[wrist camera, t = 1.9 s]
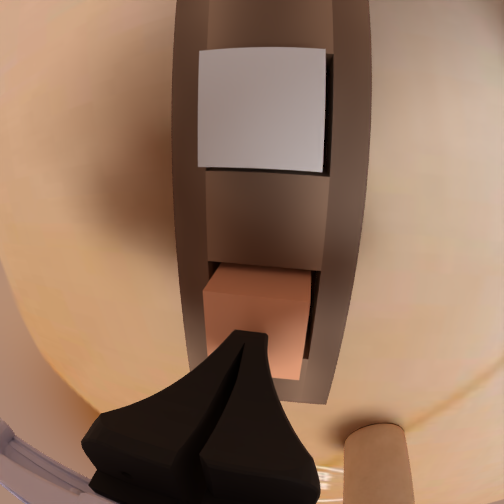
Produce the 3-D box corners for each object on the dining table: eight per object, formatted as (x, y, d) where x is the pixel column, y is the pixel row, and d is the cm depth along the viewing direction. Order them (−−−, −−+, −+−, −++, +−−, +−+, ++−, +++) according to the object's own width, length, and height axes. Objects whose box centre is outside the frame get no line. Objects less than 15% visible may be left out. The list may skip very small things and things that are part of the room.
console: (343, -92, 8) (346, -124, 5) (325, 365, 19) (326, 404, 16) (212, -89, 9) (194, -117, 6) (208, 351, 21) (192, 386, 17)
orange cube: (311, 264, 15) (310, 301, 12) (302, 335, 16) (299, 380, 13) (225, 257, 15) (202, 290, 12) (226, 326, 17) (208, 368, 14)
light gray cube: (321, 69, 11) (325, 49, 8) (319, 162, 13) (322, 172, 10) (225, 68, 12) (199, 50, 9) (224, 158, 14) (197, 166, 10)
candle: (400, 450, 22) (408, 540, 13) (343, 458, 23) (340, 549, 14) (408, 417, 20) (424, 522, 11) (343, 426, 21) (341, 535, 12)
